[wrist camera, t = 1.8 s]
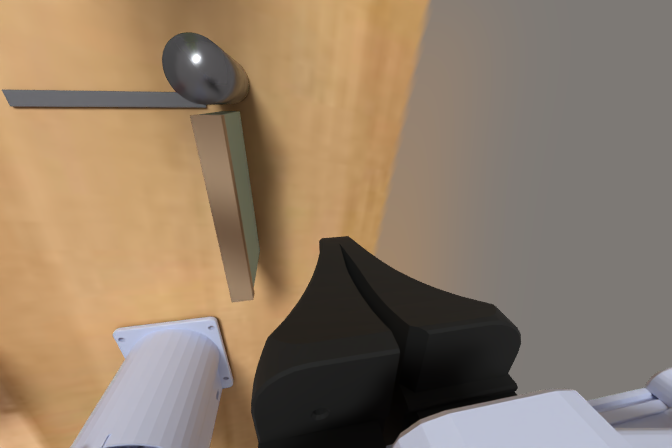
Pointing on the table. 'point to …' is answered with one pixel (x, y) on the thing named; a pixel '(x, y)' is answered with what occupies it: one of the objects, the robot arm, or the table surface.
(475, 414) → the robot arm
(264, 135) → the table surface
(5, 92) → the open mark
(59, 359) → the table surface
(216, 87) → the hinge post
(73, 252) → the table surface
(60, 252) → the table surface
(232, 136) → the green and brown panel
